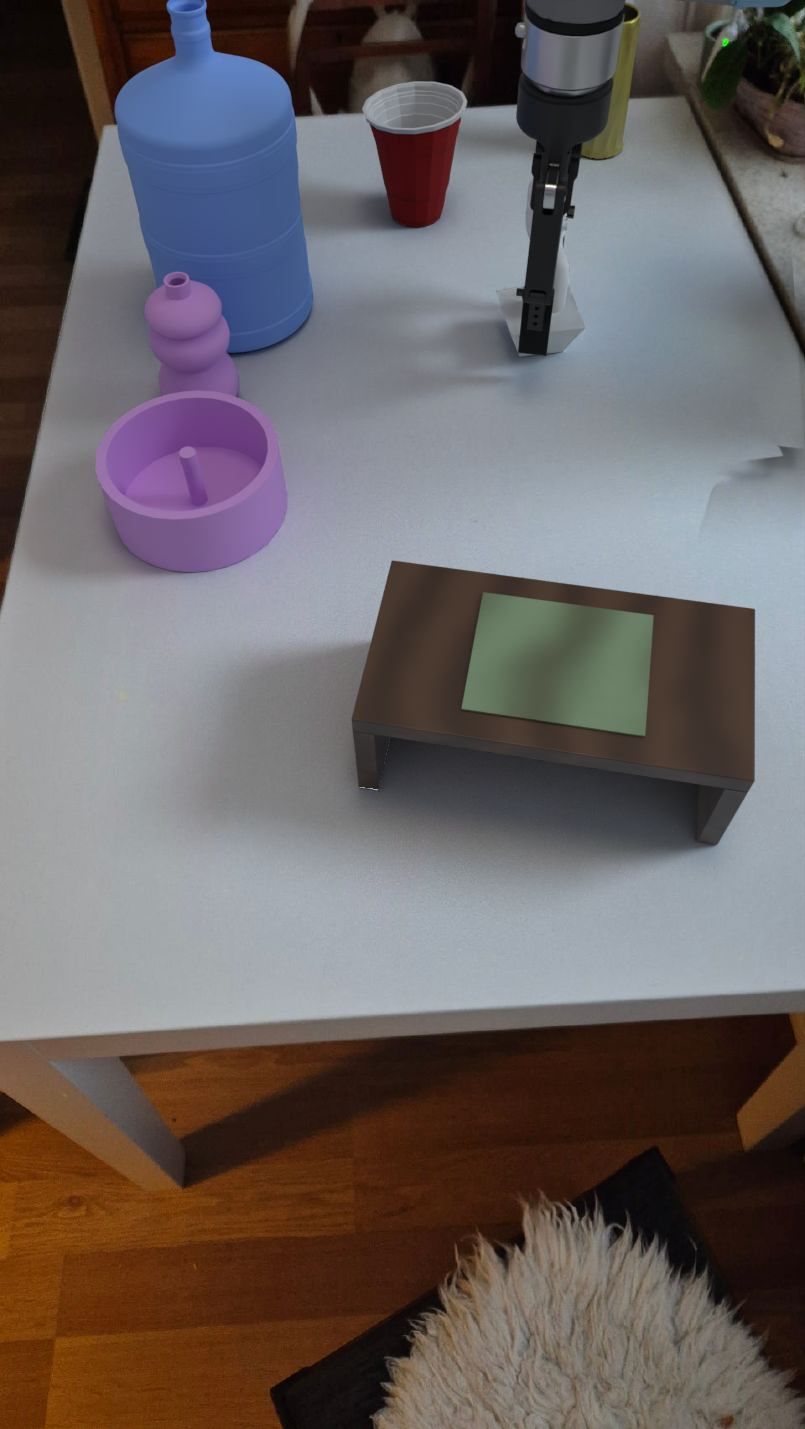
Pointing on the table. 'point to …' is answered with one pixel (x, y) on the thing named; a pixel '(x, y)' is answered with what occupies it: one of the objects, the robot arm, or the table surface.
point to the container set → (192, 447)
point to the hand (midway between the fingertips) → (538, 316)
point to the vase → (618, 91)
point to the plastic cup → (415, 146)
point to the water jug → (219, 180)
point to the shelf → (563, 680)
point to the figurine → (564, 308)
